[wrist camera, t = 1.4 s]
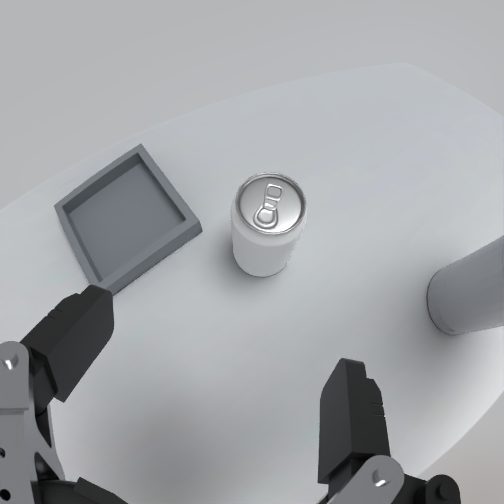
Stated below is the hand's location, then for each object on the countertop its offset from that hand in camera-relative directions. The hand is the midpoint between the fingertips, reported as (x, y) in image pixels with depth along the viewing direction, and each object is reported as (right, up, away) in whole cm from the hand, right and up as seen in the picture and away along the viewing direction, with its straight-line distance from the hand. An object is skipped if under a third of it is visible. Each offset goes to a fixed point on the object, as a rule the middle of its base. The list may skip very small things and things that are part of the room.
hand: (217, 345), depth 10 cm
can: (+2, +3, +26) cm, 26 cm away
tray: (-14, +7, +26) cm, 31 cm away
